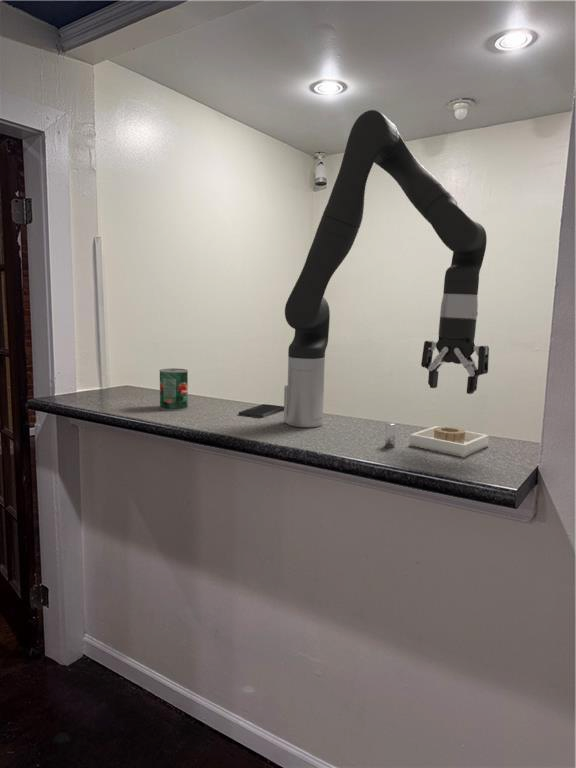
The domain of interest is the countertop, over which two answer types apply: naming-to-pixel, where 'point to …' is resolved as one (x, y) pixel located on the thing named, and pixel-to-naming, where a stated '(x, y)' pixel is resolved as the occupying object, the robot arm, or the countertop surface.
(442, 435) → the oak ring
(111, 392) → the countertop surface
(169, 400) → the canned tomato
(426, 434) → the white tray
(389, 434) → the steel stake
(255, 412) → the phone
